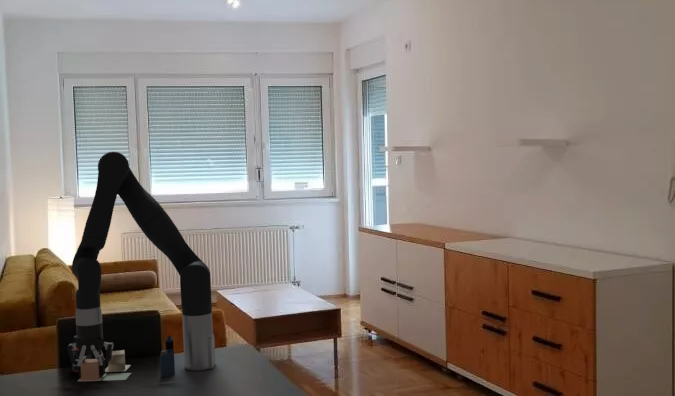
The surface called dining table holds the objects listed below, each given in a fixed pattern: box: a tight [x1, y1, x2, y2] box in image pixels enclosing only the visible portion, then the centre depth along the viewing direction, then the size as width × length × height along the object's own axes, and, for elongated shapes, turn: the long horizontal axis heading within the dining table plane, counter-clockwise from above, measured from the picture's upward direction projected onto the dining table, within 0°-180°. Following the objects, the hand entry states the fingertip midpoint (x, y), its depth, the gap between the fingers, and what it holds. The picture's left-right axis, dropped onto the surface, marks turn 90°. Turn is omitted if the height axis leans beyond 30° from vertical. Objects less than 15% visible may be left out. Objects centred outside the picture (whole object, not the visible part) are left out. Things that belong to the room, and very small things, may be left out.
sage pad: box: [101, 372, 132, 382], centre depth 232 cm, size 7×7×1 cm
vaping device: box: [159, 335, 176, 378], centre depth 232 cm, size 3×5×12 cm, turn 155°
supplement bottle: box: [71, 334, 93, 373], centre depth 240 cm, size 6×6×11 cm
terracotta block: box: [80, 358, 100, 380], centre depth 232 cm, size 5×5×5 cm
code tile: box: [77, 373, 107, 382], centre depth 232 cm, size 7×7×1 cm
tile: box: [105, 364, 132, 373], centre depth 241 cm, size 7×7×1 cm
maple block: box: [107, 349, 126, 371], centre depth 241 cm, size 5×5×5 cm
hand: (92, 376), depth 232 cm, fingers closed on terracotta block, 5 cm apart
